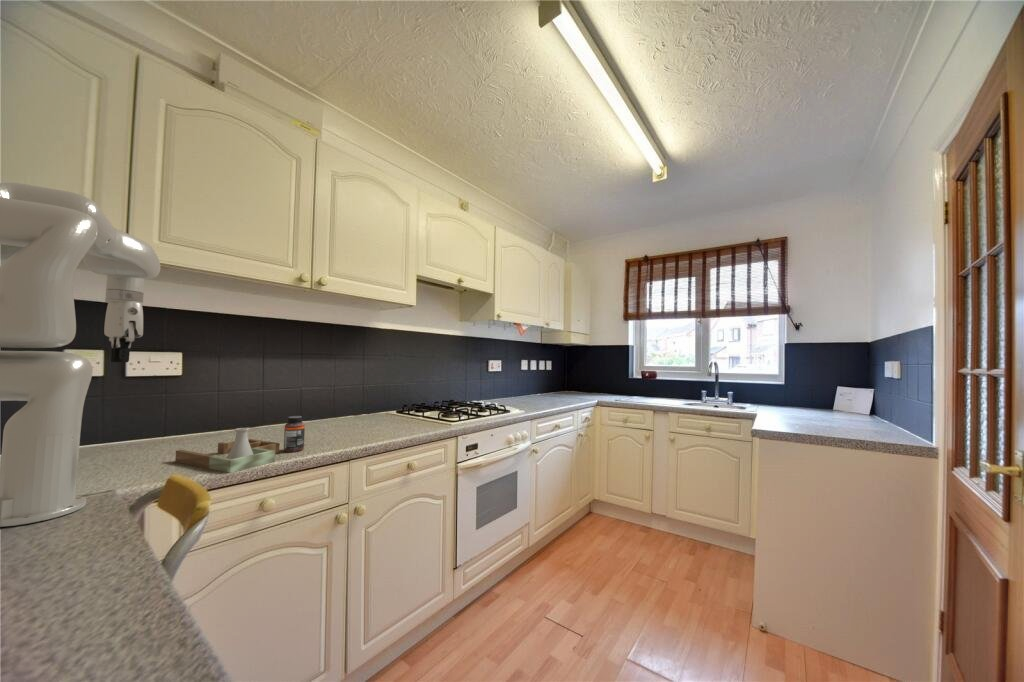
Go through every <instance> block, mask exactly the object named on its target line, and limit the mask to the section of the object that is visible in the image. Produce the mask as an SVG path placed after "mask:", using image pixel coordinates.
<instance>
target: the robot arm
mask: <svg viewBox="0 0 1024 682" xmlns="http://www.w3.org/2000/svg"><path fill="white" fill-rule="evenodd" d="M0 245H5V246H12V247H13V246H14V247H20V248H21V249H20V250H18V251H17V252H15V253H14V254H12V255H10V257H8V258H7V259H6V260H4V262H3V263H2V264H1V265H0V348H10V349H11V348H14V349H16V348H18V349H47V348H51V349H52V348H59V347H64V346H66V345H69V344H70V343H72V342H73V340H74V339H75V337H76V334H77V320H76V319H77V318H76V309H75V300H74V299H75V298H74V289H73V288H74V287H73V285H74V284H73V278H74V274H75V271H76V269H77V268H78V266H79V264H80V263H81V262H82V260H83V264H84V265H85V267H86V268H87V269H88V270H89V271H91V272H93V273H95V274H97V275H101V276H106V284H105V297H104V302H106V303H107V305H106V306H107V307H106V311H105V318H104V328H103V330H104V331H103V332H104V336H106V337H108V341H109V342H110V345H111V352H110V362H112V363H129V361H130V353H131V352H130V351H131V347H132V343H133V342H135V339H137V338H141V337H143V335H144V310H143V306H144V296H145V295H144V292H145V280H151V279H155V278H156V277H158V276H159V274H160V272H161V261H160V259H159V256H158V254H157V253H156V251H155V250H154V248H153V247H152V246H151V245H150V244H149V243H147V242H146V241H144V240H142V239H140V238H138V237H136V236H134V235H131V234H129V233H128V232H125V231H123V230H121V229H118V228H116V227H114V226H113V225H112V223H111V221H110V220H109V218H107V216H106V215H105V214H104V212H103V211H102V209H100V207H99V206H98V204H97V203H96V202H94V201H93V200H92V199H90V197H87V196H85V195H82V194H79V193H75V192H71V191H66V190H59V189H55V188H49V187H43V186H38V185H31V184H27V183H19V182H3V183H2V182H1V183H0ZM92 376H93V366H92V363H91V362H90V360H89V359H88V358H86V357H84V356H82V355H80V354H77V353H73V352H64V351H48V350H47V351H44V350H42V351H41V350H37V351H36V350H20V351H19V350H0V402H7V401H8V402H9V401H11V402H13V401H16V402H17V401H18V402H23V401H24V402H26V404H25V405H24V406H22V407H21V408H20V409H19V410H18V411H16V412H14V414H12V416H11V417H9V419H8V420H7V422H6V423H5V424H4V428H3V431H2V432H3V433H2V434H3V435H2V446H1V454H0V455H1V456H0V528H3V527H5V528H6V527H14V526H15V527H16V526H23V525H27V524H32V523H34V524H35V523H38V522H42V521H43V522H44V521H47V520H52V519H55V518H59V517H62V516H65V515H68V514H71V513H74V512H76V511H79V510H81V509H82V508H84V507H85V506H86V504H87V498H86V497H85V496H80V495H76V493H77V478H78V466H79V454H80V444H81V441H80V440H81V430H82V419H83V413H84V412H83V411H84V406H85V400H86V396H87V394H88V390H89V388H90V387H89V386H90V384H91V381H92Z"/></svg>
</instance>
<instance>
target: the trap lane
mask: <svg viewBox="0 0 1024 682" xmlns="http://www.w3.org/2000/svg"><path fill="white" fill-rule="evenodd" d="M234 441H235V440H234ZM234 441H228V442H218V443H217V454H221V455H226V454H229V452H230V450H231V448H232V446H233V444H234ZM248 441H249V444H250V447H251V449H252V452H253V454H254V455H249V456H245V457H240V458H236V459H229V458H227V457H224V456H217V455H212V454H207V453H201V452H196V451H190V450H184V449H178V450H177V449H176V450H175V458H174V459H175V463H179V464H186V465H191V466H195V467H199V468H205V469H211V470H215V471H219V472H224V473H230V474H231V473H235V472H238V471H242V470H247V469H251V468H255V467H260V466H263V465H266V464H270V463H273V462H275V460H276V458H275V457H276V455H277V454H280V442H274V441H268V440H267V441H266V440H259V439H252V438H248Z"/></svg>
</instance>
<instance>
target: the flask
mask: <svg viewBox="0 0 1024 682" xmlns="http://www.w3.org/2000/svg"><path fill="white" fill-rule="evenodd" d="M249 430H250V428H249V427H240V428H239V427H238V428H235V429H234V431H235V438H234V444H233V446H232V448H231V450H230V452H229V453H227V454H228V455H227V457H226V458H229V459H236V458H240V457H245V456H249V455H254V454H253V452H252V449H251V447H250V444H249V441H248V439H249V436H248V432H249Z"/></svg>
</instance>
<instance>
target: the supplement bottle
mask: <svg viewBox="0 0 1024 682" xmlns="http://www.w3.org/2000/svg"><path fill="white" fill-rule="evenodd" d="M305 428H306V423H304V422H303V416H301V415H292V416H288V419H287V423H285V425H284V435H283V436H284V437H283V452H285V453H297V452H301V451H302V450H304V449H305V434H306V433H305V430H306V429H305Z"/></svg>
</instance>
